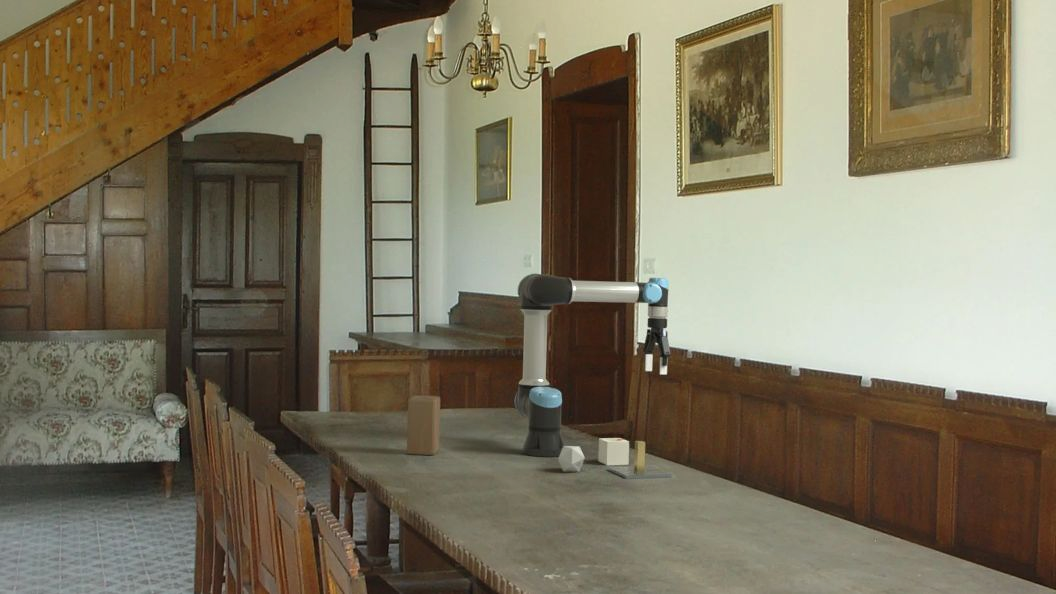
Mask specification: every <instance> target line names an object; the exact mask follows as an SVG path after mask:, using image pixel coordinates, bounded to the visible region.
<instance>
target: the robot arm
mask: <svg viewBox="0 0 1056 594" xmlns="http://www.w3.org/2000/svg"><path fill="white" fill-rule="evenodd" d="M518 283H519V284H518V286H517V295H518V297H519V299H520V300H519V301H520V311H521V313H523V315H524V316H523V317H524V319H523V320H524V321H523V322H524V323H523V326H524V327H523V353H522V355H523V358H522V379H521V380H520V381H519V382H518V391H517V392H516V393H515V397H514V406H515V409H516V411H517V412H518V413H519V414H520V415H521V416H522V417H523V418H525V419H528V432H527V435H526V438H525V441H524V444H523V448H522V453H523V454H524V455H528V456H533V457H543V458H545V457H547V458H549V457H551V458H552V457H559V456H560V453H561V451H562V449H563V446H565V444H564V440H563V436H562V431H561V430H562V427H561V426H562V403H563V399H562V398H563V396H562V392H561V391H560V390H558V389H557V388H554V387H550V386H551V385H550V382H549V381H548V380H547V379H546V378H547V376H546V375H547V374H546V373H547V350H548V349H547V347H548V346H547V344H548V342H547V341H548V340H547V339H548V316H549V314H550V313H551V312H552V309H553V308H552V307H553V306H555V305H570V304H572V302H581V303H582V302H584V303H589V302H592V303H593V302H594V303H633V304H647V317H648V318H647V329H646V336H645V340H644V345H643V349H642V352H643V353H644V354H645V355H644V356H645V361H644V363H645V364H644V371H645V372H653V355H654V352H653V350H654V348H655V345H656V344H657V346H658V350H659V354H660V355H659V375H667V374H668V358H669V357H671V350H670V349H671V348H670V343H669V337H668V334H669V333H668V331H667V330H664V329H667V327H668V319H667V317H668V312H669V307H668V302H669V291H670V290H669V279H668V278H666V277H649V278H648V282H642V281H641V282H638V281H598V280H597V281H596V280H573V279H572V278H571V277H562V276H555V275H552V274H551V275H550V274H546V273H545V274H544V273H531V274H527V275H526V276H524V277H522V279H521V280H520V281H519V282H518Z"/></svg>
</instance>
